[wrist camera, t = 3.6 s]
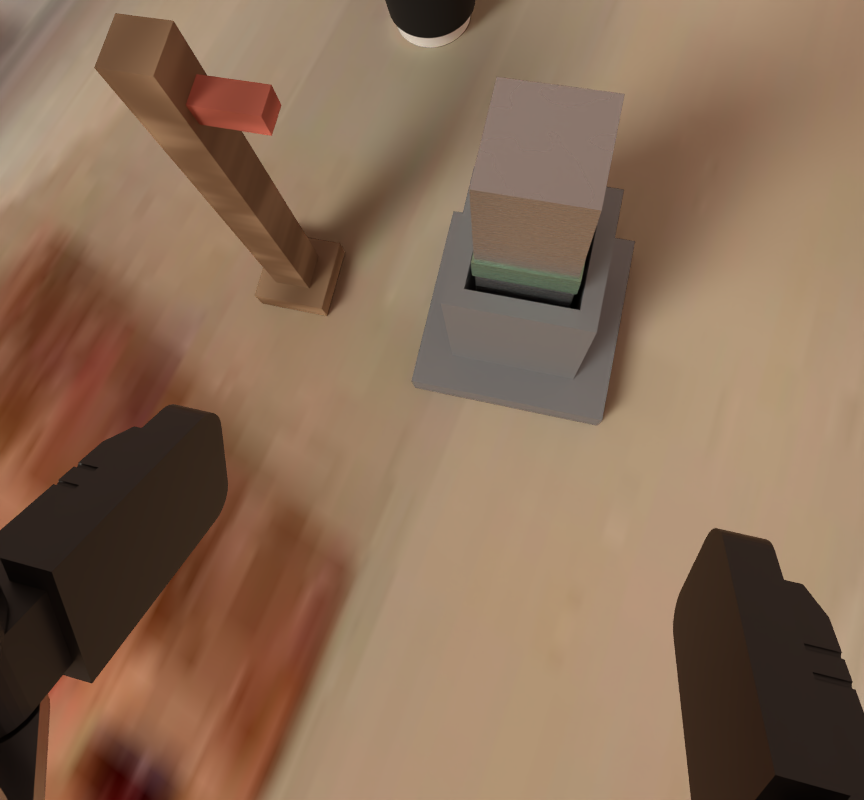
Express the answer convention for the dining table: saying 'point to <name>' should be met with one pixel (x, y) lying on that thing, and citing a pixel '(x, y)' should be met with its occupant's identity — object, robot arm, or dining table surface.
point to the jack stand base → (527, 330)
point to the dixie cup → (431, 20)
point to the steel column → (540, 187)
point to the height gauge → (220, 153)
